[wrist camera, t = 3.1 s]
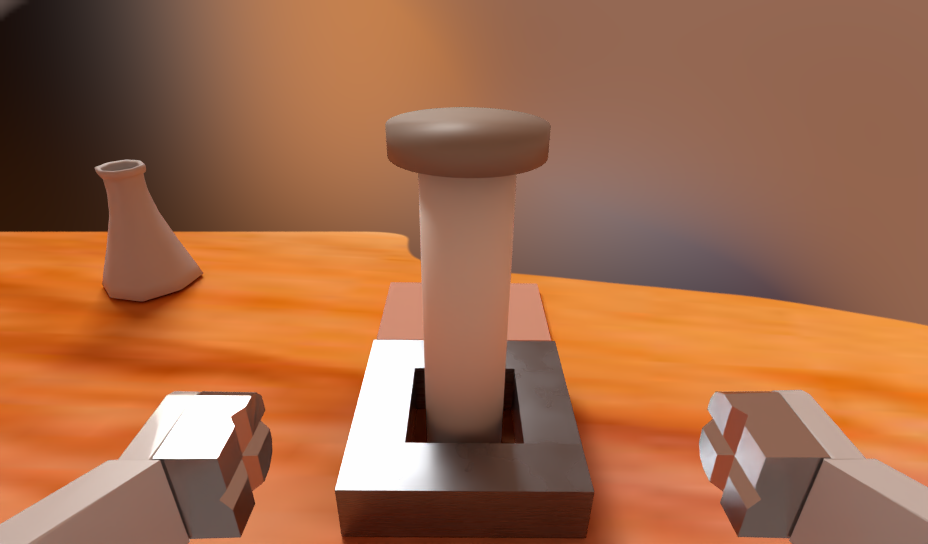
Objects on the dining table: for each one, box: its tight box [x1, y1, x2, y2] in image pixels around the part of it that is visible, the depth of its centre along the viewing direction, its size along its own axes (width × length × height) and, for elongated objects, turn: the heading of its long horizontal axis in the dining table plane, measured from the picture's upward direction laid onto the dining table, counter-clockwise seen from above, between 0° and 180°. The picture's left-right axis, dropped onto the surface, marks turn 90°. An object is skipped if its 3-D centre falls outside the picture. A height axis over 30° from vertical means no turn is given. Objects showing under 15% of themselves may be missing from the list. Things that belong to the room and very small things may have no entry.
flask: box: [95, 160, 203, 302], centre depth 42 cm, size 7×7×10 cm
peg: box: [386, 107, 551, 443], centre depth 25 cm, size 6×6×17 cm
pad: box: [377, 282, 551, 341], centre depth 40 cm, size 12×8×1 cm, turn 90°
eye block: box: [335, 340, 594, 538], centre depth 28 cm, size 11×11×3 cm
